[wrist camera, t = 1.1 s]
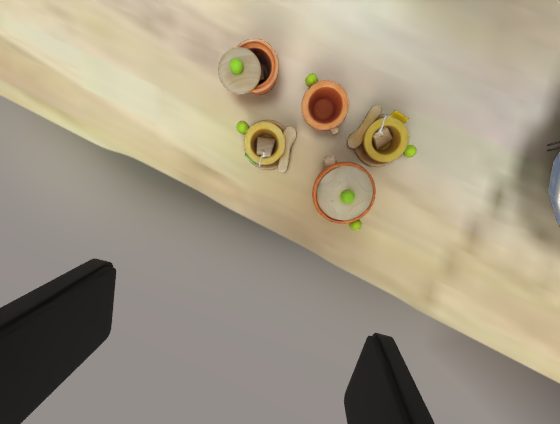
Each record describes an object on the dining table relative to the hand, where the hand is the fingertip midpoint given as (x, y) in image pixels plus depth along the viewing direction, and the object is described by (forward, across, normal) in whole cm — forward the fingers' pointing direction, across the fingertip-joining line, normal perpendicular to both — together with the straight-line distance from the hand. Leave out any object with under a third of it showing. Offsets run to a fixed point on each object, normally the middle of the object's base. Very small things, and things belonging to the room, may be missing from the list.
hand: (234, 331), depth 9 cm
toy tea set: (+30, -1, -8) cm, 31 cm away
